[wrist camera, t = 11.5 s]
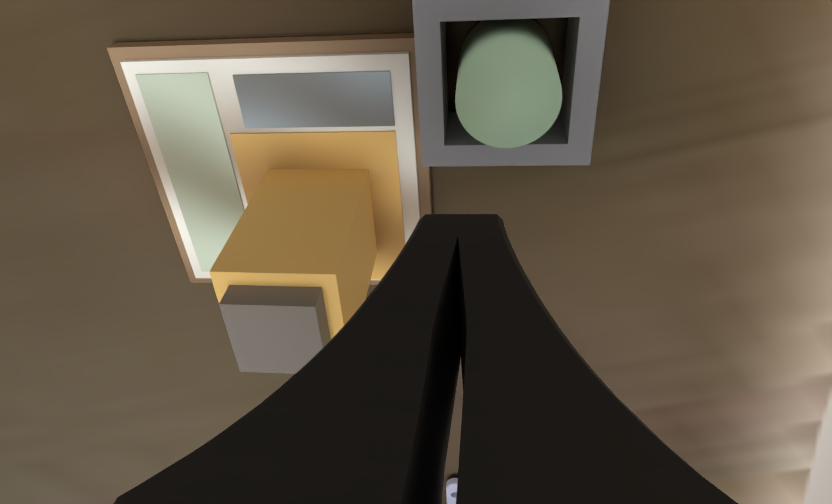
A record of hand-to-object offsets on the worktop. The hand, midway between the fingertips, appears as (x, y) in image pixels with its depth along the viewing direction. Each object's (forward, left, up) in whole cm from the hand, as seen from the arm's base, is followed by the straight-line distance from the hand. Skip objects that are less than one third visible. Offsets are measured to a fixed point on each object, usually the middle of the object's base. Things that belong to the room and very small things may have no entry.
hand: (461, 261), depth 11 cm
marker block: (-5, +5, -10) cm, 12 cm away
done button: (0, -1, -10) cm, 10 cm away
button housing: (0, -1, -10) cm, 10 cm away
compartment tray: (-4, +6, -10) cm, 13 cm away
